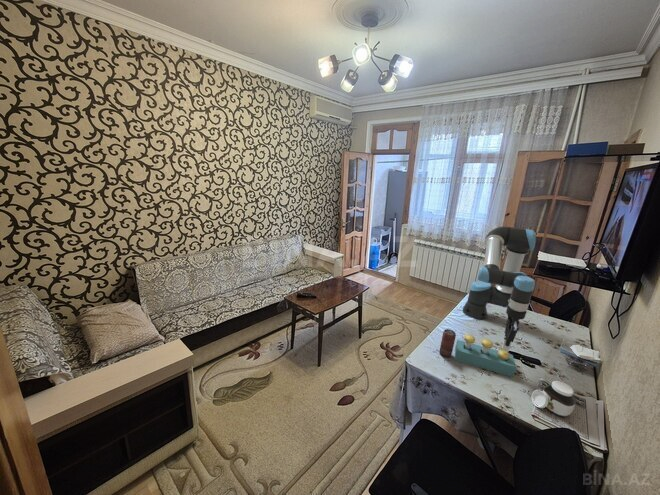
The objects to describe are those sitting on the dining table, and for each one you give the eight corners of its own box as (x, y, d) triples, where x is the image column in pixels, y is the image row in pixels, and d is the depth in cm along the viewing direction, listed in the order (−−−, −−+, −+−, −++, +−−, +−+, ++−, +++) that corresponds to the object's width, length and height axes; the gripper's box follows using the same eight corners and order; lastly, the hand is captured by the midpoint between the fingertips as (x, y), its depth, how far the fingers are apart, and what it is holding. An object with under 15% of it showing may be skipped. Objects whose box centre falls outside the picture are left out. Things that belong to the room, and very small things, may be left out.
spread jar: (573, 416, 110) (582, 394, 107) (556, 424, 106) (565, 401, 103) (542, 393, 121) (550, 372, 117) (525, 400, 117) (533, 378, 113)
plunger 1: (462, 345, 143) (464, 333, 141) (472, 348, 142) (475, 335, 139) (462, 350, 139) (465, 338, 137) (472, 353, 137) (475, 341, 135)
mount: (455, 348, 148) (457, 339, 146) (509, 364, 138) (512, 354, 136) (455, 359, 139) (457, 350, 138) (513, 377, 129) (516, 367, 128)
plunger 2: (494, 360, 138) (497, 348, 136) (505, 363, 137) (508, 351, 134) (495, 366, 134) (499, 354, 132) (506, 370, 132) (510, 357, 130)
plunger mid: (478, 349, 140) (481, 337, 138) (489, 352, 139) (492, 340, 136) (479, 355, 136) (482, 343, 134) (490, 358, 134) (493, 345, 132)
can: (436, 352, 145) (440, 330, 140) (445, 349, 147) (449, 327, 143) (444, 359, 139) (449, 336, 135) (453, 356, 142) (458, 334, 138)
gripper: (505, 300, 133) (494, 340, 140) (510, 312, 121) (497, 355, 129) (523, 304, 130) (511, 344, 137) (529, 317, 119) (516, 360, 126)
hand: (504, 349), depth 133 cm, fingers closed
